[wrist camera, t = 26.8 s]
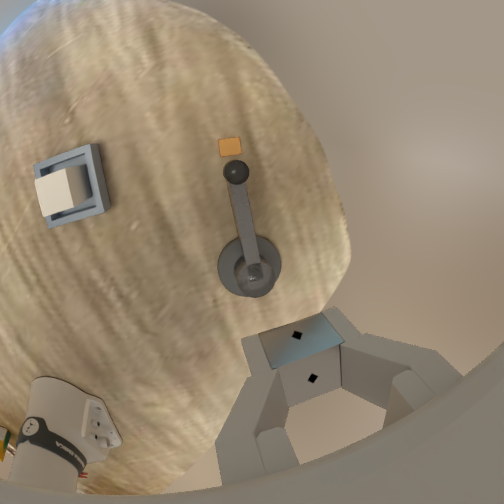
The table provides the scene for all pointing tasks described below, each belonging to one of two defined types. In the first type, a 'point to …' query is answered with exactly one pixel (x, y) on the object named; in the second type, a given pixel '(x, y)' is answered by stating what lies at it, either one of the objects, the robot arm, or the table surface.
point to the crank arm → (246, 236)
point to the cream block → (63, 189)
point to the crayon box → (3, 441)
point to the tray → (95, 177)
